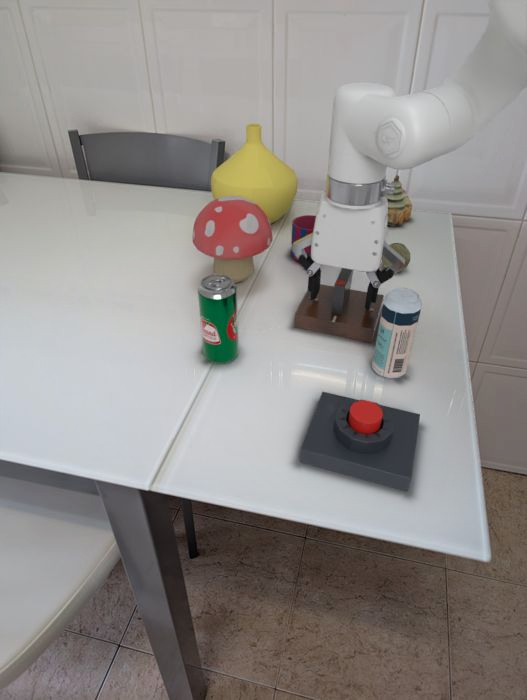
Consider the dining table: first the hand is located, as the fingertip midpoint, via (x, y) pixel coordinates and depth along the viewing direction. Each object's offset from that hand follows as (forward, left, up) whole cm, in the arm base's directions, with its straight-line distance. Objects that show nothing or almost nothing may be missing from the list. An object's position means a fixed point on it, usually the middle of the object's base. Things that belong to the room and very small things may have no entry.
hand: (341, 299), depth 77 cm
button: (-8, +25, 0) cm, 26 cm away
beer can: (-9, +10, -4) cm, 14 cm away
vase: (+26, -32, -4) cm, 41 cm away
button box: (-8, +25, -3) cm, 26 cm away
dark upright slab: (0, 0, -1) cm, 1 cm away
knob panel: (0, 0, -3) cm, 3 cm away
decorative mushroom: (+20, -5, -4) cm, 21 cm away
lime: (-6, -19, -4) cm, 20 cm away
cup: (+10, -17, -4) cm, 20 cm away
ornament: (-3, -41, -4) cm, 41 cm away
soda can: (+14, +15, -4) cm, 21 cm away
